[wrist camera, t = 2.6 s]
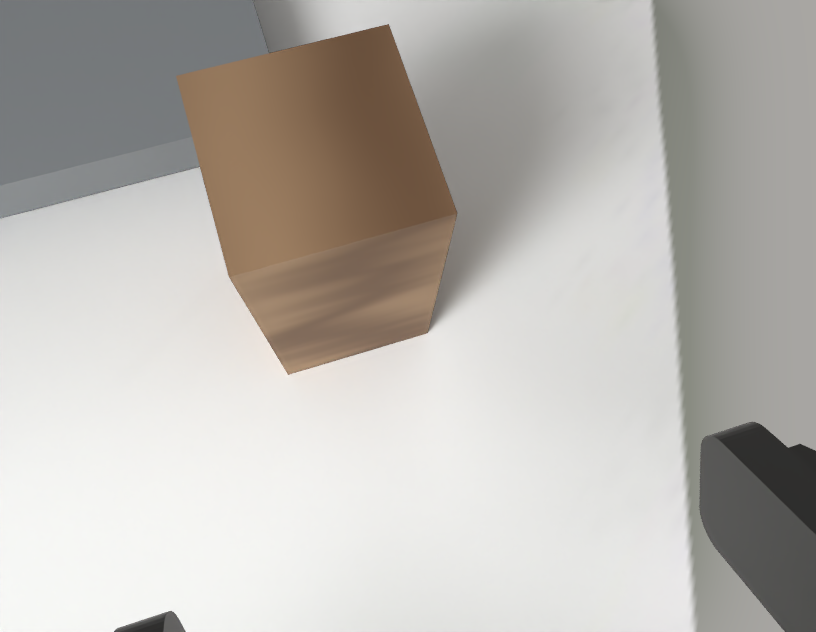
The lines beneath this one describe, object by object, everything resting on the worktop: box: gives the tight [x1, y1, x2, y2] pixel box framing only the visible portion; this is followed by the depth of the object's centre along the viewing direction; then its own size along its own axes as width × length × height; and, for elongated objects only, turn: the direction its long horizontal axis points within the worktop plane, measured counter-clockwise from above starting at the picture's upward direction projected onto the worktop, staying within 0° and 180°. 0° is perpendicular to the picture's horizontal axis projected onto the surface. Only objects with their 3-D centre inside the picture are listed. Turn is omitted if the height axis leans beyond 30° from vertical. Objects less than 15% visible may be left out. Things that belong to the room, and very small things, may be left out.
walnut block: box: [176, 24, 457, 375], centre depth 21 cm, size 5×5×10 cm
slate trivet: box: [0, 0, 269, 218], centre depth 27 cm, size 12×12×2 cm
